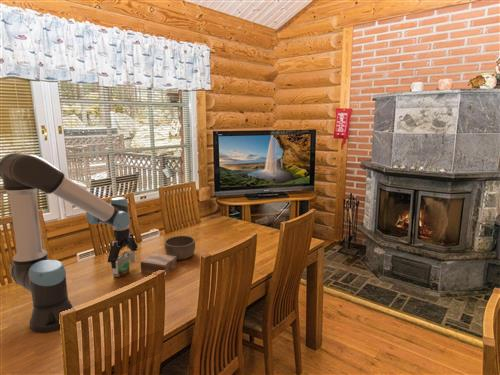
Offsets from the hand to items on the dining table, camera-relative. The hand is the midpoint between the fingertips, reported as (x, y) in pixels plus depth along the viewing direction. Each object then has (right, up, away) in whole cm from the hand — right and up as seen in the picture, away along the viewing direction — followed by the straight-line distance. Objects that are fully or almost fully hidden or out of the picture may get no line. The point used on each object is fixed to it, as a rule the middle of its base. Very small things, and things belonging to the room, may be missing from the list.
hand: (124, 268), depth 171 cm
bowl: (+24, +1, +23) cm, 33 cm away
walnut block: (+16, -2, +6) cm, 17 cm away
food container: (0, -3, +1) cm, 4 cm away
